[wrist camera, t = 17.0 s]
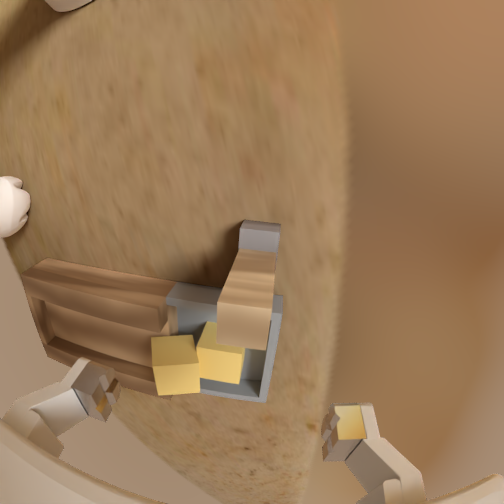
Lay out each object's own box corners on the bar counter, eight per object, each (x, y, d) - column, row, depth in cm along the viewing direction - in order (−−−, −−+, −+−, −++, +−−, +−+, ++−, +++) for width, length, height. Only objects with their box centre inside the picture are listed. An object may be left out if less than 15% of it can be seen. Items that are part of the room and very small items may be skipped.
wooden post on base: (244, 219, 23) (216, 273, 14) (280, 223, 23) (278, 281, 13) (239, 284, 26) (214, 363, 16) (272, 288, 25) (264, 370, 16)
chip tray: (177, 281, 26) (166, 297, 23) (282, 295, 25) (282, 313, 23) (183, 369, 31) (175, 387, 28) (267, 383, 30) (265, 402, 27)
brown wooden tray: (47, 257, 27) (20, 274, 23) (177, 281, 26) (157, 309, 21) (67, 336, 32) (47, 356, 27) (183, 369, 31) (170, 400, 26)
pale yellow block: (151, 337, 24) (152, 366, 21) (192, 334, 26) (199, 363, 22) (155, 366, 26) (158, 395, 22) (193, 363, 27) (200, 392, 24)
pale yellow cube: (196, 346, 23) (241, 354, 23) (207, 321, 27) (247, 327, 27) (197, 377, 25) (239, 384, 24) (207, 351, 28) (244, 357, 28)
